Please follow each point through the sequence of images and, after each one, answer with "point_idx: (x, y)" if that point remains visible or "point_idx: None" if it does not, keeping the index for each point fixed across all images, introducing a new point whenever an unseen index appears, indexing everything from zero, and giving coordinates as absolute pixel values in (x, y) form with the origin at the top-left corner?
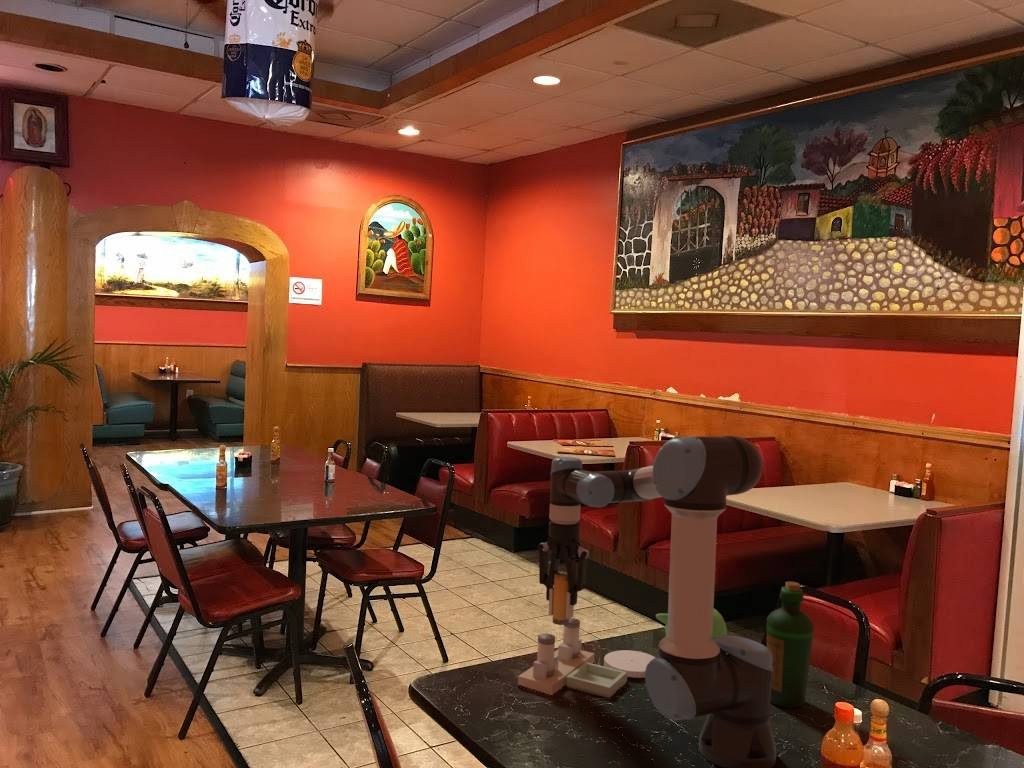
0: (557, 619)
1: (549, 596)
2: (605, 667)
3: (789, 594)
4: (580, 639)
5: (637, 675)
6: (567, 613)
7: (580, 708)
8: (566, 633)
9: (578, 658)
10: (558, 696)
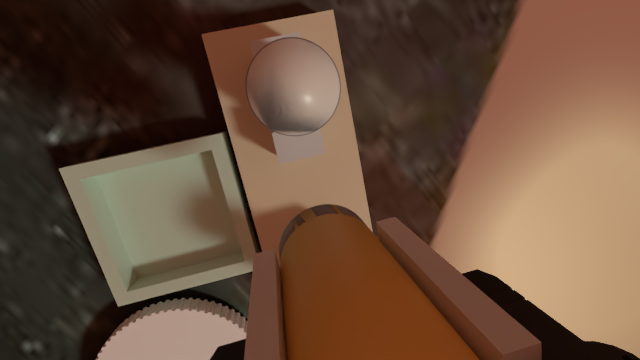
0: (319, 216)
1: (470, 283)
2: (189, 282)
3: None
4: None
5: (116, 329)
6: (261, 270)
7: (80, 32)
8: None
9: None
10: (193, 56)
